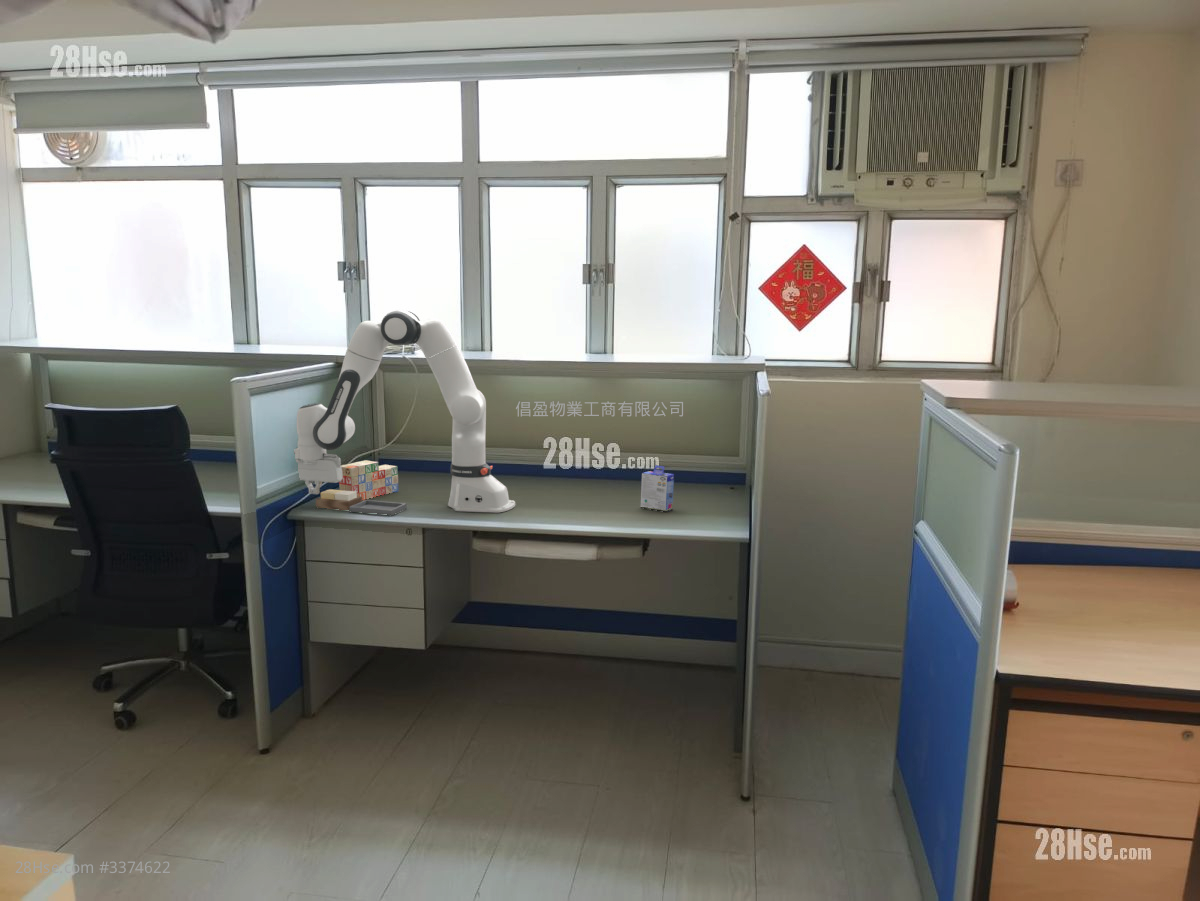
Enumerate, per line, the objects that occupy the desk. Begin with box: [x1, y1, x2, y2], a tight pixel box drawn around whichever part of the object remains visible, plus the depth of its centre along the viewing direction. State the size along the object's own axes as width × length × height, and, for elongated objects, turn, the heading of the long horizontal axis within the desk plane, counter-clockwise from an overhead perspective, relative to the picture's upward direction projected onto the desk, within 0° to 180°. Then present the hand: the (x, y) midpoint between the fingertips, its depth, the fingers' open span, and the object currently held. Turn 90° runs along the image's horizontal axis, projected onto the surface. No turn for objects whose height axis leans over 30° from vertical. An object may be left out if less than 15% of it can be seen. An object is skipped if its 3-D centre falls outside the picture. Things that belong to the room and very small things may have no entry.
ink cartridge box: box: [640, 464, 675, 510], centre depth 271 cm, size 10×6×14 cm, turn 59°
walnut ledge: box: [315, 496, 362, 511], centre depth 267 cm, size 12×8×3 cm, turn 75°
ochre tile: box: [320, 488, 343, 500], centre depth 267 cm, size 5×5×2 cm
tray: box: [348, 499, 408, 516], centre depth 263 cm, size 15×10×2 cm, turn 75°
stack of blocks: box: [338, 459, 399, 501], centre depth 282 cm, size 21×6×12 cm, turn 148°
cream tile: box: [335, 490, 357, 501], centre depth 265 cm, size 5×5×2 cm
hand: (314, 493), depth 269 cm, fingers closed
